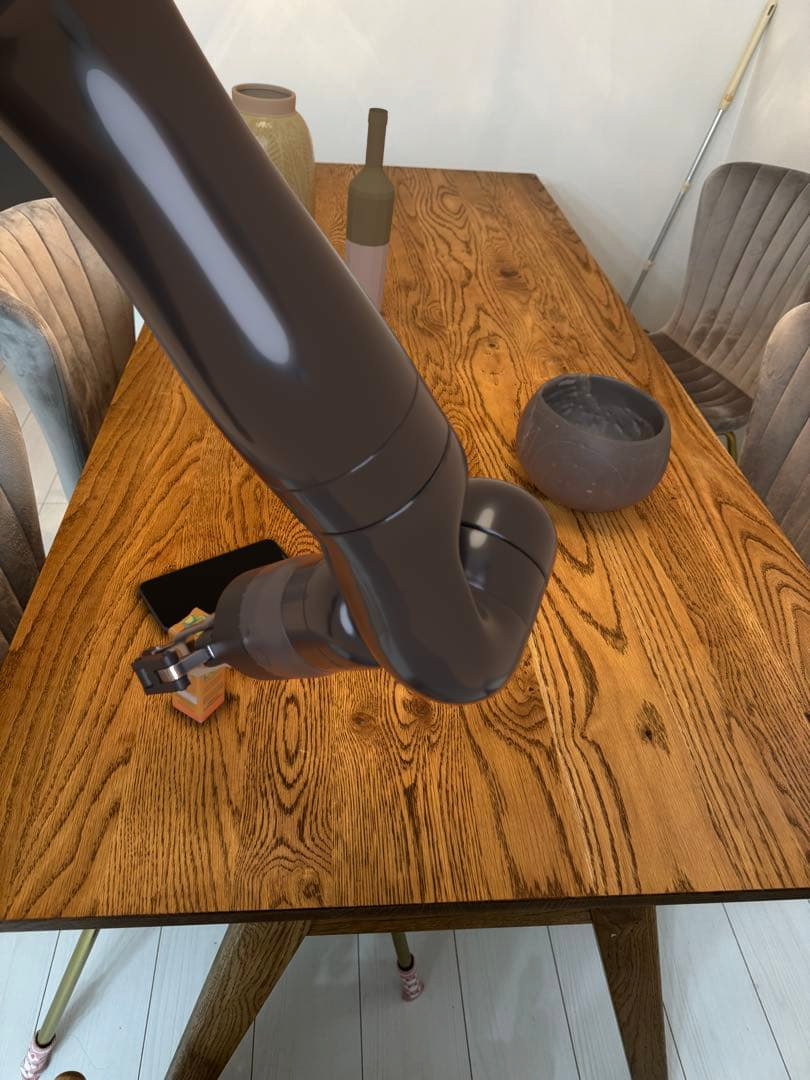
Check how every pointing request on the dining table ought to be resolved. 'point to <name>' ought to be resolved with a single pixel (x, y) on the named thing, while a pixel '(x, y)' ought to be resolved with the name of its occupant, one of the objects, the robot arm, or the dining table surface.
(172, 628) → the supplement box
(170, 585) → the smartphone
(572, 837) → the dining table surface
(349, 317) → the robot arm
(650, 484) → the bowl
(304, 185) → the vase
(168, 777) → the dining table surface
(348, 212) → the bottle
